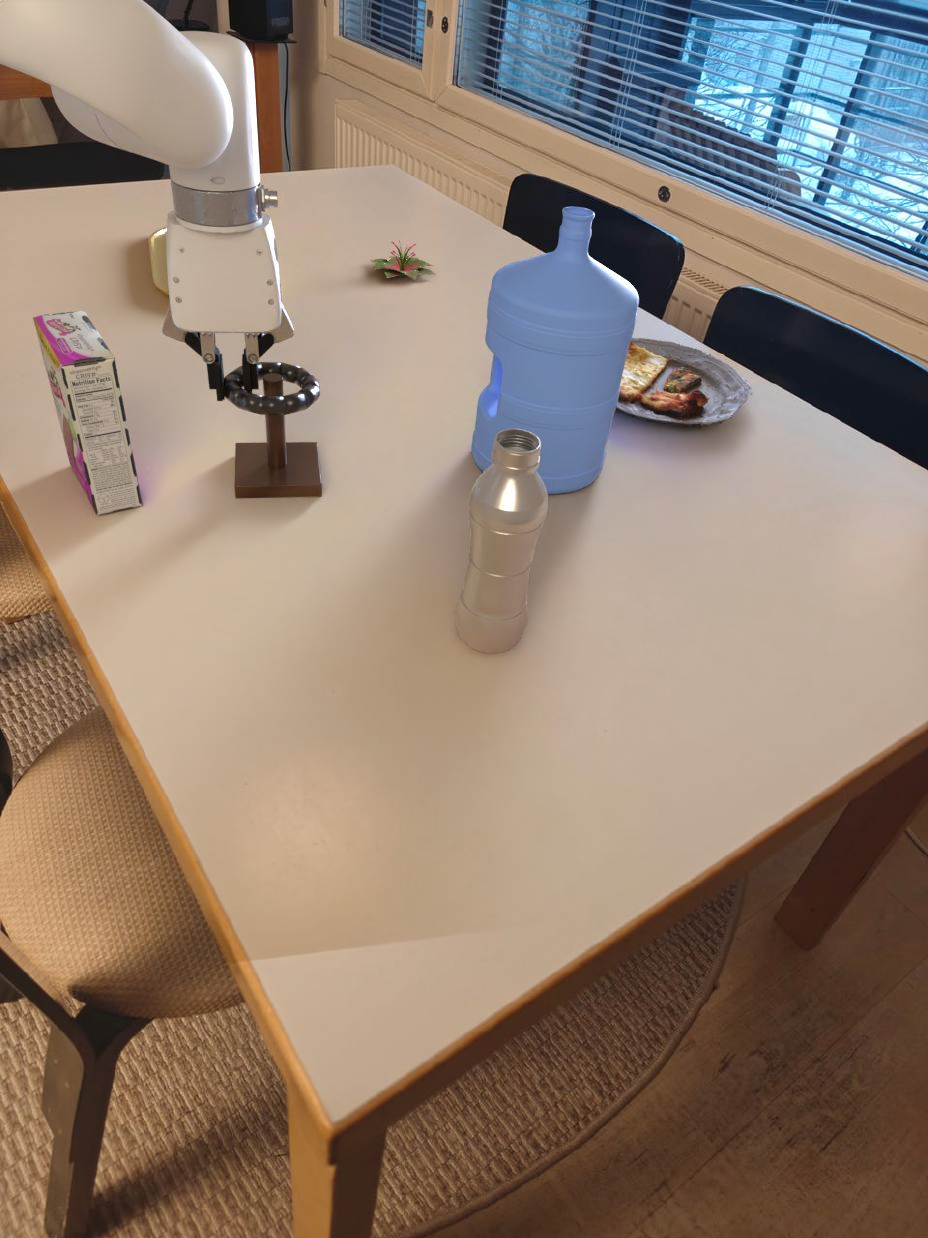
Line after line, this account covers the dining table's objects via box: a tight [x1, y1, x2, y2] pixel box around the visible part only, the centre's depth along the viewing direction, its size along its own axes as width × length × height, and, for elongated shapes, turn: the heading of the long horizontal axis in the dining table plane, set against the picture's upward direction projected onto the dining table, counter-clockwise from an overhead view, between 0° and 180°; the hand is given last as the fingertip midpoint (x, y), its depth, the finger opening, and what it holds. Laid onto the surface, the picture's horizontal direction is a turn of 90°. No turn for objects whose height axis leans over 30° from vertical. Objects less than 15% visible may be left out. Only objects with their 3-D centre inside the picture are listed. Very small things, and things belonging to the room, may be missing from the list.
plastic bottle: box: [454, 429, 550, 654], centre depth 71 cm, size 6×7×20 cm
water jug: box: [470, 206, 640, 495], centre depth 93 cm, size 16×16×28 cm
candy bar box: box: [32, 310, 144, 517], centre depth 85 cm, size 11×5×16 cm, turn 32°
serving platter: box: [148, 226, 169, 296], centre depth 138 cm, size 19×35×2 cm, turn 17°
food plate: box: [615, 337, 753, 429], centre depth 118 cm, size 25×23×4 cm
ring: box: [224, 361, 321, 416], centre depth 88 cm, size 10×10×2 cm
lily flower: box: [369, 240, 437, 281], centre depth 144 cm, size 12×12×5 cm
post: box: [233, 373, 323, 499], centre depth 91 cm, size 9×9×12 cm
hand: (234, 393), depth 88 cm, fingers closed on ring, 2 cm apart
